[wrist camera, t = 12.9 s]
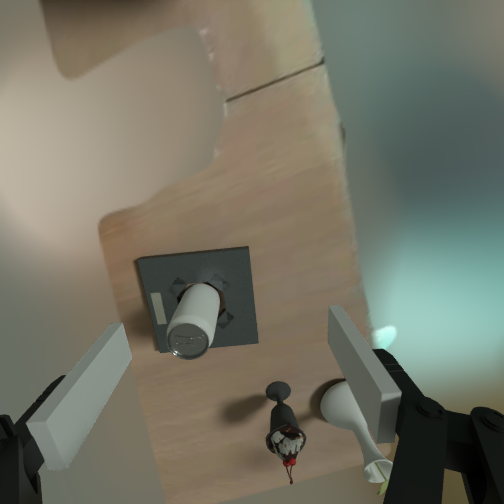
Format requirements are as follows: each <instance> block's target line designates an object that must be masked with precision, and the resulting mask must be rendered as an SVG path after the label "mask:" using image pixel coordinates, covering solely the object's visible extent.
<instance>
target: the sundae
mask: <svg viewBox="0 0 504 504" xmlns="http://www.w3.org/2000/svg"><path fill="white" fill-rule="evenodd" d="M290 392H291V389H290V387H289V385H288V384H286V383H284V382H274V383H272V384H271V385H269V386H268V388H267V390H266V394H267V396H268V397H269V398H270V399H271V400H273V401H277V405H276V406H275V407H274V408H273V409H272V411H271V420H270V433H269V434H268V435H267V436H266V445H267V447H268V449H269V450H270V451H271V452H272V453H275V454H276V455H277V456H278V457H279V458H280V459H282V460H283V465H284V466H285V467H286V469H287V472H288V468H287V467H289V466H290V465H291V469H292V466H293V465H295V464H296V460H295V459H296V458H297V456H298V455H299V452H300V451H301V449H302V448H303V447H304V445H305V442H306V436H305V434H304V433H303V431H302V430H300V429H299V427H298V424H297V421H296V418H295V416H294V413H293V411H292V409H291V408H290V407H289V406H288V405H286V404H284V403H283V400H285V399H286V398H288V397H289V395H290ZM291 469H290V475H289V472H288V475H289V478H290V477H291ZM290 480H291V481H290V484H292V483H293V481H292V478H290Z"/></svg>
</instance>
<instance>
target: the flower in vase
mask: <svg viewBox="0 0 504 504" xmlns="http://www.w3.org/2000/svg"><path fill="white" fill-rule="evenodd" d="M320 409H321V413H322V415H323V416H324V418H325V419H326V420H327V421H328V422H329V423H330V424H332V425H334V426H336V427H338V428H341V429H346V430H352V431H353V432H354V433H355V435H356V437H357V439H358V441H359V444H360V446H361V450H362V453H363V457H364V469H363V476H364V478H365V479H366V480H367V481H369V482H373V483H379V482H384V481H385V482H384V483H383V484H382V486H381V488H380V490H379V492H378V493H377V495H381V494H382V493H383V492H384V491H385V490H386V489H387V486H388V482H389V478H390V474H391V470H392V466H393V463H392V462H391V461H389V460H387V459H386V458H385V457H384V456H383V455H382V454H381V453H380V452H379V450H378V449H377V447H376V446H375V444H374V442H373V441H372V439H371V437H370V435H369V432H368V429H367V423H366V421H365V419H364V417H363V415H362V413H361V410H360V408H359V406H358V404H357V402H356V400H355V398H354V396H353V394H352V392H351V390H350V387H349V385H348V383H347V381H343V382H339V383H337V384H335V385H333V386H332V387H330V388H329V389H328V390H327V391H326V392H325V394H324V396H323V398H322V400H321V405H320Z"/></svg>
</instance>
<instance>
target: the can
mask: <svg viewBox="0 0 504 504" xmlns="http://www.w3.org/2000/svg"><path fill="white" fill-rule="evenodd" d="M219 305H220V298H219V295H218V293H217V291H216V290H215V289H214V288H213V287H211V286H209V285H206V284H195V285H192V286H191V287H189V288H188V289H187V290H186V291H185V293H184V295H183V297H182V299H181V301H180V303H179V305H178V307H177V309H176V311H175V313H174V315H173V317H172V319H171V321H170V324H169V326H168V329H167V340H166V342H167V346H168V349H169V350H170V352H171V353H172V354H174V355H175V356H176V357H178V358H181V359H185V360H192V359H197V358H199V357H201V356H202V355H204V354H205V353H206V351H207V350H208V348H209V346H210V345H211V343H212V341H213V338H214V333H215V328H216V322H217V317H218V311H219Z"/></svg>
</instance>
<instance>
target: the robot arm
mask: <svg viewBox="0 0 504 504" xmlns="http://www.w3.org/2000/svg"><path fill="white" fill-rule="evenodd" d="M328 344H329V346H330V348H331V350H332V352H333V354H334V356H335V358H336V360H337V362H338V364H339V367H340V369H341V371H342V373H343V375H344V377H345V379H346V381H347V383H348V385H349V387H350V390H351V392H352V394H353V396H354V398H355V400H356V402H357V404H358V406H359V408H360V410H361V413H362V415H363V417H364V419H365V421H366V423H367V425H368V427H369V429H370V431H371V433H372V436H373V438H374V440H375V442H376V444H380V443H392V442H395V434H396V433H397V435H398V437H399V441H398V445H397V449H396V453H395V457H394V462H393V466H392V470H391V474H390V478H389V482H388V486H387V490H386V494H385V498H384V502H383V504H441V503H442V502H441V501H442V491H443V479H444V468H445V469H449V470H453V471H457V472H461V475H462V478H463V482H464V486H465V490H466V494H467V498H468V501H469V504H504V415H502V414H501V413H499V412H498V411H495V410H493V409H490V408H487V407H475V408H473V409H472V411H471V413H470V415H466V414H462V413H456V412H451V411H448V410H445V409H444V408H443V407H442V406H441V405H440V404H438V402H436V401H434V400H432V399H431V398H428V397H425V396H424V395H423V394H422V392H421V391H420V390H419V388H418V387H417V386H416V385H415V384H414V382H413V381H412V380H411V378H410V377H409V376H408V374H407V373H406V372H405V371H404V369H403V368H402V367H401V366H400V365H399V364H398V362H397V361H396V359H395V358H394V357H393V355H391V354H390V353H388V352H387V351H386V350H384V349H371V348H370V346H369V345H368V343H367V342H366V340H365V339H364V338H363V336H362V335H361V333H360V332H359V330H358V329H357V328H356V326H355V325H354V323H353V322H352V320H351V319H350V318H349V316H348V315H347V313H346V312H345V310H344V309H343V308H342V306H341V305H335V306H329V315H328ZM131 359H132V355H131V351H130V348H129V344H128V340H127V337H126V333H125V329H124V326H123V323H112V324H110V325H109V326H108V327H107V329H106V330H105V331H104V332H103V333H102V334H101V335H100V337H99V338H98V339H97V340H96V341H95V342H94V344H93V345H92V346H91V347H90V348H89V350H88V351H87V352H86V353H85V354H84V355H83V357H82V358H81V359H80V360H79V362H77V364H76V365H75V366H74V367H73V368H72V369H71V371H70V372H69V373H68V374H67V375H63V376H60V377H59V378H58V379H56V380H55V381H54V382H52V383H51V384H50V385H49V386H48V387H47V388H46V390H45V391H44V392H43V394H42V395H40V396H39V397H38V399H37V400H36V402H34V403H33V404H32V406H31V407H30V408H29V409H28V410H27V411H26V412H25V413H24V414H23V415H22V416H21V418H20V419H19V420H18V421H17V422H16V423H15V424H13V422H12V420H11V418H10V416H9V415H5V414H4V415H0V504H42V493H41V481H40V476H39V474H38V470H39V468H40V467H41V465H42V464H43V463H44V462H45V464H46V466H47V468H48V470H49V471H55V470H66V469H68V467H69V465H70V464H71V462H72V460H73V459H74V457H75V455H76V453H77V452H78V450H79V448H80V447H81V445H82V443H83V442H84V440H85V438H86V436H87V435H88V433H89V431H90V430H91V428H92V426H93V424H94V423H95V421H96V419H97V417H98V416H99V414H100V412H101V411H102V409H103V407H104V406H105V404H106V402H107V400H108V399H109V397H110V395H111V394H112V392H113V390H114V388H115V387H116V385H117V383H118V382H119V380H120V378H121V376H122V375H123V373H124V371H125V369H126V368H127V366H128V365H129V363H130V361H131Z"/></svg>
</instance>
